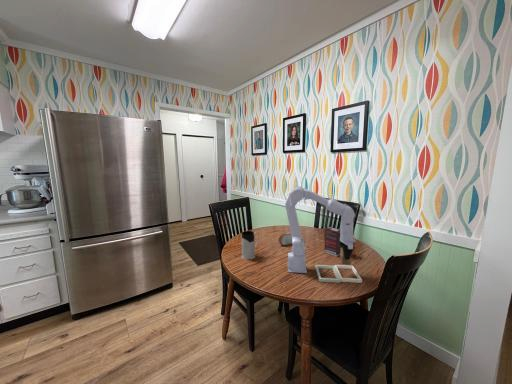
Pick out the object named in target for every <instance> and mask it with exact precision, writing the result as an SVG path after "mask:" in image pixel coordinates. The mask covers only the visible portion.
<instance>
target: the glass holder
mask: <svg viewBox="0 0 512 384" xmlns="http://www.w3.org/2000/svg"><path fill="white" fill-rule="evenodd" d="M256 234H257V240H256V242H255V237H256ZM259 240H260V232H259V231H255V232H254V231H252V230H245V231H242V232H241V259H242V260H246V259H250V260H253V258H254V259H255V258H256V257H255V256H256V254H255V253H256V252H255V251H256V249H255V248H256V247H257V245H258V243H259Z"/></svg>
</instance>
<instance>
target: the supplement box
mask: <svg viewBox="0 0 512 384" xmlns="http://www.w3.org/2000/svg"><path fill="white" fill-rule="evenodd" d="M340 230H341V228H340V229H339V228H335V227H331V226H327V227H325V228H324V253H326V254H328V255H331V256H334V257H339V256H340V252H341V246H340V244H339V241H340Z"/></svg>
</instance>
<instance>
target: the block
mask: <svg viewBox="0 0 512 384" xmlns="http://www.w3.org/2000/svg"><path fill="white" fill-rule="evenodd" d="M339 261H340V262H341V263H340V264H341V265H347V266H352V256H351V257H350V260H345V258H344V251H343V248H341V252H340V255H339Z"/></svg>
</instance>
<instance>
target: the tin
mask: <svg viewBox="0 0 512 384" xmlns="http://www.w3.org/2000/svg"><path fill="white" fill-rule="evenodd" d="M278 243H279V244H280V245H281V246H289V245H291V244H292V235H291V231H287V232H282V233H281V234H280V235H279V236H278Z"/></svg>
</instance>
